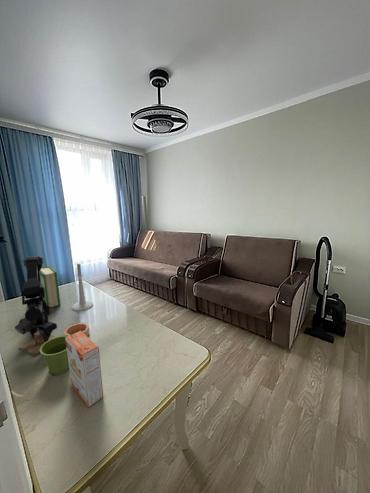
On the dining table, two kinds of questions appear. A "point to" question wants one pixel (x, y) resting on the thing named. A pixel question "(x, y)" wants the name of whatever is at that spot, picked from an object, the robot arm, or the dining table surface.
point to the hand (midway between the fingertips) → (40, 340)
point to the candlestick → (81, 295)
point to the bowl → (77, 329)
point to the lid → (34, 344)
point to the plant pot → (56, 354)
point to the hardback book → (50, 286)
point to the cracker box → (84, 367)
